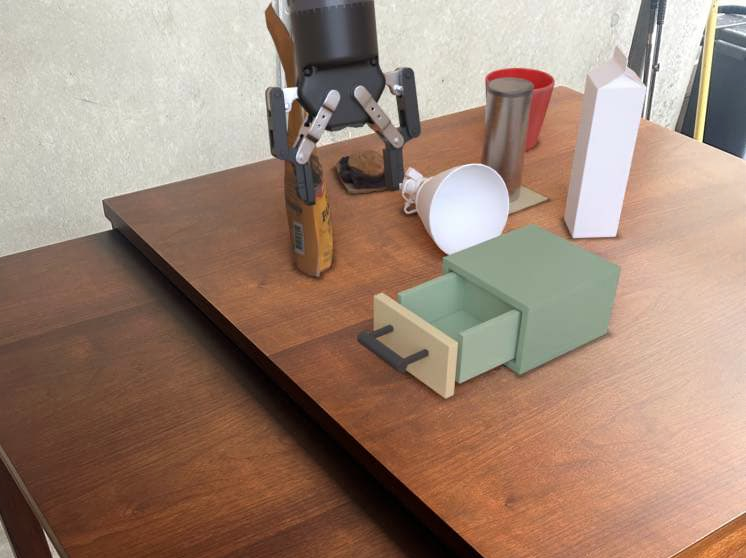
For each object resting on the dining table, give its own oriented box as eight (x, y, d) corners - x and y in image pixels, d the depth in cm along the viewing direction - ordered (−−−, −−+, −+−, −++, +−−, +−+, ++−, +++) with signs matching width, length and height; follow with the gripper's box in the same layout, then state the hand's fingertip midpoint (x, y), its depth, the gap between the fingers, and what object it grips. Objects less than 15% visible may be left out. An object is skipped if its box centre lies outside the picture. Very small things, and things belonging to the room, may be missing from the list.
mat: (500, 177, 132) (500, 175, 131) (547, 199, 126) (547, 197, 125) (450, 195, 128) (450, 193, 127) (496, 219, 122) (496, 216, 122)
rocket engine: (401, 129, 120) (463, 144, 106) (459, 175, 127) (525, 195, 112) (358, 205, 123) (412, 229, 109) (416, 246, 130) (475, 274, 115)
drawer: (413, 414, 89) (415, 361, 84) (342, 359, 96) (341, 308, 92) (532, 357, 96) (540, 306, 91) (458, 310, 103) (462, 260, 98)
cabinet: (519, 375, 95) (529, 307, 89) (438, 322, 103) (442, 257, 97) (607, 333, 100) (621, 267, 94) (523, 286, 108) (532, 222, 102)
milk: (572, 239, 117) (601, 60, 101) (563, 218, 121) (590, 44, 106) (617, 237, 117) (653, 58, 101) (606, 217, 121) (640, 42, 106)
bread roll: (332, 167, 136) (331, 143, 134) (385, 162, 137) (385, 137, 134) (345, 195, 129) (344, 170, 126) (400, 189, 130) (401, 164, 127)
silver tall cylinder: (520, 187, 128) (533, 77, 118) (520, 205, 124) (533, 93, 113) (478, 185, 129) (487, 76, 118) (476, 203, 125) (486, 92, 114)
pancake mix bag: (284, 286, 110) (264, 41, 90) (281, 219, 123) (263, -7, 104) (337, 283, 110) (328, 38, 90) (328, 216, 124) (319, -9, 104)
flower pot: (537, 128, 145) (545, 64, 138) (552, 153, 137) (562, 88, 130) (474, 131, 145) (479, 68, 138) (486, 157, 137) (492, 91, 130)
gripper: (262, 11, 71) (291, 215, 80) (422, -11, 74) (434, 189, 82) (244, 15, 78) (272, 204, 86) (392, -5, 80) (406, 180, 89)
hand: (352, 197), depth 84 cm, fingers open, 8 cm apart
